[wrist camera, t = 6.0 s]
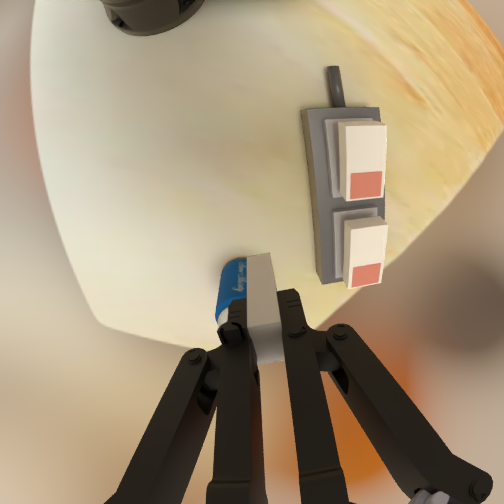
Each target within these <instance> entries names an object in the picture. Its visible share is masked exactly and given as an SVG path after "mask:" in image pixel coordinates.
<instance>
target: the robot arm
mask: <svg viewBox="0 0 504 504" xmlns="http://www.w3.org/2000/svg"><path fill="white" fill-rule="evenodd" d="M100 1H101V2H103V5H104V8H105V10H106V13H107V16H108V18H109V20H110V21H111V23H112V24H113V25H114V26H115V27H117V28H118V29H120V30H122V31H123V32H125V33H127V34H131V35H136V36H147V35H154V34H158V33H162V32H165V31H167V30H170V29H172V28H174V27H176V26H178V25H180V24H181V23H183V22H184V21H186V20H187V19H188V18H190V17H191V16H192V15H193V14H194V13H195V12H196V11H197V10H198V9H199V8H200V6H201V5H202V3H203V2H204V0H100ZM217 333H218V336H219V338H220V341H221V343H222V345H221V346H219V347H218V348H216V349H213V350H211V351H208V352H206V351H205V350H204V349H201V348H193V349H191V350H189V351H187V352H186V353H185V354H184V355H183V356H182V358H181V360H180V362H179V364H178V366H177V368H176V370H175V372H174V374H173V376H172V378H171V380H170V382H169V384H168V386H167V388H166V390H165V392H164V394H163V396H162V398H161V400H160V402H159V404H158V406H157V408H156V410H155V412H154V414H153V416H152V418H151V420H150V422H149V424H148V427H147V429H146V431H145V433H144V435H143V437H142V439H141V441H140V443H139V445H138V447H137V449H136V451H135V453H134V455H133V457H132V460H131V461H130V464H129V466H128V468H127V470H126V472H125V474H124V476H123V478H122V481H121V483H120V485H119V487H118V489H117V491H116V493H115V494H114V495H112V497H110V498H109V499H108V500H107V501H106V502H105V503H104V504H181V502H182V499H183V497H184V494H185V491H186V488H187V486H188V484H189V481H190V478H191V475H192V473H193V470H194V467H195V465H196V462H197V459H198V457H199V454H200V451H201V449H202V446H203V443H204V440H205V438H206V435H207V432H208V429H209V427H210V424H211V421H212V418H213V415H214V412H215V410H216V407H217V414H216V431H215V446H214V464H213V479H212V481H211V482H210V483H209V484H208V486H207V491H206V504H268V499H267V495H266V490H265V475H264V474H265V473H264V453H263V435H262V434H263V433H262V415H261V394H260V376H259V370H258V367H257V361H258V364H263V363H270V362H277V361H282V360H285V363H286V371H287V379H288V387H289V394H290V402H291V410H292V418H293V426H294V435H295V443H296V452H297V460H298V469H299V485H300V494H301V504H355V503H352V502H349V499H348V494H347V488H346V483H345V477H344V473H343V470H342V468H341V466H340V462H339V457H338V452H337V447H336V442H335V437H334V432H333V427H332V423H331V418H330V413H329V409H328V405H327V400H326V395H325V391H324V387H323V383H322V378H321V374H320V371H327V372H328V374H329V375H330V377H331V378H332V380H333V382H334V383H335V385H336V386H337V388H338V390H339V391H340V393H341V395H342V396H343V398H344V399H345V401H346V403H347V404H348V406H349V407H350V409H351V411H352V412H353V414H354V416H355V417H356V418H357V420H358V422H359V424H360V425H361V427H362V428H363V430H364V432H365V433H366V435H367V436H368V438H369V440H370V441H371V443H372V445H373V446H374V448H375V449H376V451H377V453H378V454H379V456H380V458H381V459H382V461H383V462H384V464H385V465H386V467H387V469H388V470H389V472H390V474H391V475H392V477H393V478H394V480H395V482H396V483H397V485H398V486H399V487H400V488H401V490H402V491H403V492H404V493H405V494H406V495H407V496H408V497H409V498H410V499H411V501H410V502H409V503H408V504H480V503H482V502H483V501H485V500H486V498H487V497H488V496H489V495H490V493H491V490H492V487H493V480H492V477H491V476H490V475H489V474H488V473H487V472H485V471H483V470H481V469H479V468H477V467H475V466H473V465H471V464H470V463H468V462H466V461H464V460H462V459H461V458H459V457H457V456H455V455H453V454H452V453H451V451H450V450H449V449H448V447H447V446H446V445H445V443H444V442H443V441H442V439H441V438H440V437H439V435H438V434H437V433H436V431H435V430H434V429H433V427H432V426H431V425H430V424H429V422H428V421H427V420H426V418H425V417H424V416H423V414H422V413H421V412H420V411H419V409H418V408H417V407H416V405H415V404H414V403H413V402H412V400H411V399H410V398H409V397H408V395H407V394H406V393H405V391H404V390H403V389H402V388H401V386H400V385H399V384H398V383H397V381H396V380H395V379H394V378H393V376H392V375H391V374H390V373H389V372H388V370H387V369H386V368H385V367H384V366H383V364H382V363H381V362H380V360H379V359H378V358H377V357H376V355H375V354H374V353H373V352H372V351H371V349H369V347H368V346H367V345H366V343H365V342H364V341H363V340H362V339H361V337H360V336H359V335H358V334H357V332H356V331H355V330H354V329H353V328H352V327H351V326H349V325H347V324H336V325H333V326H331V327H330V328H329V329H328V330H327V331H317V330H314V329H312V328H310V327H309V326H308V325H307V322H306V319H305V315H304V311H303V307H302V303H301V300H300V296H299V293H298V292H297V291H296V290H295V289H294V288H293V289H288V290H282V291H277V288H276V282H275V277H274V272H273V267H272V262H271V257H270V253H265V254H260V255H254V256H249V257H247V298H241V299H235V300H232V301H231V303H230V305H229V306H228V319H227V322H225V323H224V324H222V325H221V326H220V327H219V328H218V331H217Z"/></svg>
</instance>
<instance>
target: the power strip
mask: <svg viewBox="0 0 504 504" xmlns="http://www.w3.org/2000/svg"><path fill="white" fill-rule="evenodd" d="M327 69H328V75H329V80H330V86H331V93H332V99H333V106H334V108H319V109H306V110H303V111H301V117H302V123H303V131H304V138H305V146H306V154H307V162H308V171H309V180H310V190H311V201H312V212H313V225H314V238H315V254H316V272H317V274H318V276H319V279H320V281H321V283H322V285H323V284H329V283H335V282H340V281H344V280H343V264H344V221H346V220H354V219H361V218H369V217H377V216H380V217H381V218H382V219H383V220H384V221H385V184H384V195H383V197H382V198H372V199H363V200H354V201H345V199H344V198H343V196H342V195H341V194H340V159H339V131H338V122H345V121H379V122H381V120H380V111H379V107H345V100H344V93H343V87H342V81H341V75H340V70H339V66H328V67H327Z"/></svg>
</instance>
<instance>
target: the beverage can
mask: <svg viewBox="0 0 504 504" xmlns="http://www.w3.org/2000/svg"><path fill="white" fill-rule="evenodd" d="M241 298H247V259H236V260H233V261H231V262H229V263H228V264H227V265H226V266H225V267H224V268H223V270H222V273H221V280H220V286H219V292H218V299H217V306H216V312H215V318H216V321H217V324H218V326H219V327H220V326H221V325H222V324H224V323H225V322H227V319H228V306H229V305H230V303H231V301H232V300H235V299H241Z"/></svg>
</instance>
